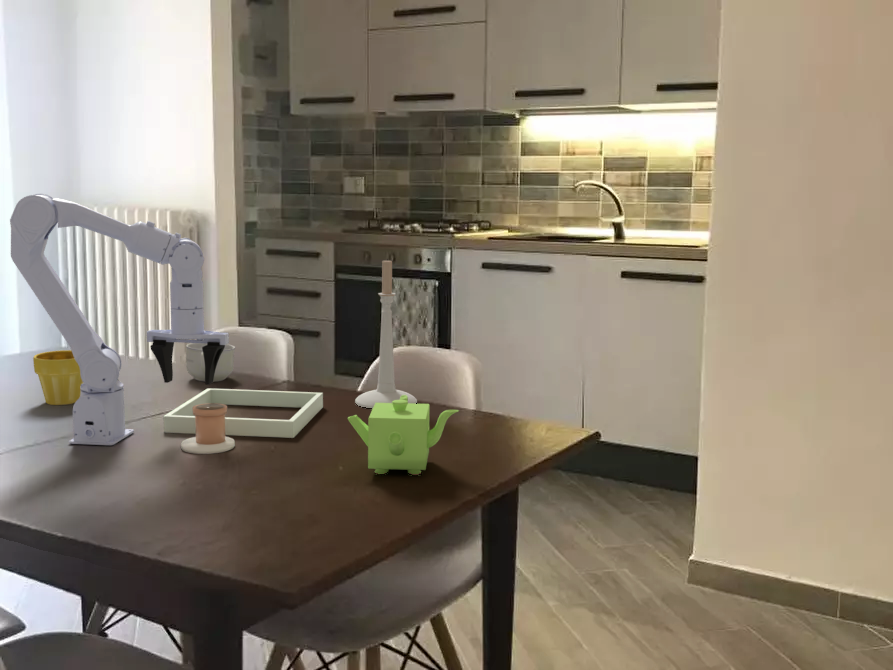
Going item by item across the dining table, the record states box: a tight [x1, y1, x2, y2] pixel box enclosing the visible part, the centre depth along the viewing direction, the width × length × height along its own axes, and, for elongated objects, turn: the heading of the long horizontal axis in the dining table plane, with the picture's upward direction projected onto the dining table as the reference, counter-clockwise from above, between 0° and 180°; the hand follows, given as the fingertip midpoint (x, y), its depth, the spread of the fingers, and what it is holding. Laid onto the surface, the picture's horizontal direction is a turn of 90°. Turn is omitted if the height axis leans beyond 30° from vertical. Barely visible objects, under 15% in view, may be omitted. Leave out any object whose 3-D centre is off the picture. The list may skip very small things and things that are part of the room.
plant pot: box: [32, 349, 83, 406], centre depth 203 cm, size 10×10×10 cm
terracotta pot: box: [193, 403, 228, 445], centre depth 173 cm, size 6×6×6 cm
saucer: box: [180, 435, 236, 455], centre depth 173 cm, size 9×9×1 cm
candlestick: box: [354, 258, 418, 410], centre depth 205 cm, size 13×13×30 cm
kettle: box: [347, 395, 460, 474], centre depth 162 cm, size 15×14×11 cm
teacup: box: [185, 343, 236, 383], centre depth 226 cm, size 14×11×8 cm
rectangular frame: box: [163, 388, 324, 439], centre depth 192 cm, size 24×24×3 cm
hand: (188, 382), depth 180 cm, fingers open, 7 cm apart
